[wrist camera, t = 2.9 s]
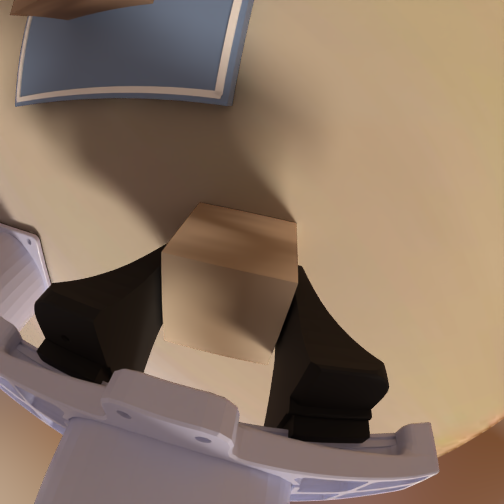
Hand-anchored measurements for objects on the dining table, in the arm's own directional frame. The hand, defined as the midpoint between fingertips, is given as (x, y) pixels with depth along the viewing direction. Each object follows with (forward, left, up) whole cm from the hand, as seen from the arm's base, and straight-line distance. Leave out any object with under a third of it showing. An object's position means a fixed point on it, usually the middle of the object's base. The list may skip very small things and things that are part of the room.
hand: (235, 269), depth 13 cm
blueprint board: (-8, +14, -1) cm, 16 cm away
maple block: (0, 0, -1) cm, 1 cm away
